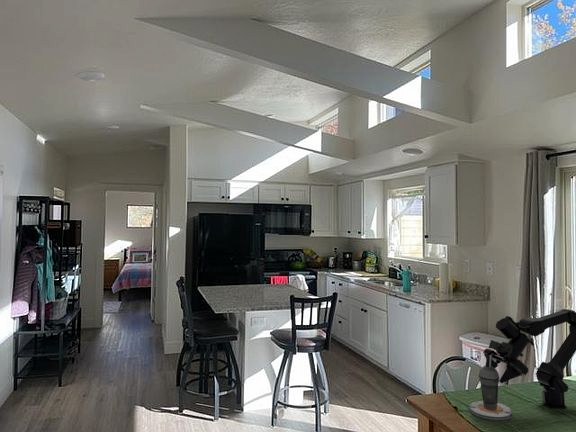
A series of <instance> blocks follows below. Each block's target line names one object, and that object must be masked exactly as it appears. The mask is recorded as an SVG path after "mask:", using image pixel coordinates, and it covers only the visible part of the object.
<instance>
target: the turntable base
mask: <svg viewBox="0 0 576 432" xmlns="http://www.w3.org/2000/svg"><path fill="white" fill-rule="evenodd" d="M468 411H469V413H470V414H471V415H472V416H474V417H476V418H479V419H481V418H482V420H485V419H487V420H486V421H490V420H492V421H491V422H506V421H509V420H511V419H513V417H514V414H513V411H512V410H511V415H510V416H508V417H505V418H490V417H485V416H481V415H479V414H476V413H474V412H473V411H472V410H471V409H470V405H469V406H468Z"/></svg>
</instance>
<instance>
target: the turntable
mask: <svg viewBox="0 0 576 432" xmlns="http://www.w3.org/2000/svg"><path fill="white" fill-rule="evenodd" d="M469 406H470V409H471V410H472V411H473V412H474V413H476V414H479V415H481V416H485V417H490V418H505V417H508V416H510V415H511V411H512V410H511V408H510V407H509V406H507V405H505V404H502V403H499V402H497V409H496V410H488V409H485V408H484V404H483V400H478V401H473V402H471V403H470V404H469Z"/></svg>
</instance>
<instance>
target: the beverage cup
mask: <svg viewBox="0 0 576 432" xmlns="http://www.w3.org/2000/svg"><path fill="white" fill-rule="evenodd" d="M478 379H479V382H480V390H481V398H482V401H483V404H484V408H485V409H488V410H496V409H497V403H498V401H499V400H498V398H499V383H500V382H499V381H500V379H501V377H500V375H499V372H498V370H497V368H494V367H492V366H491V355H490V362H489V366H488V365H487V366H485V365H483V366H482V367H481V368H480V369H479V371H478Z"/></svg>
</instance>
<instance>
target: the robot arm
mask: <svg viewBox="0 0 576 432" xmlns="http://www.w3.org/2000/svg"><path fill="white" fill-rule="evenodd" d="M564 323H567V324H569V326H568V330H569V333H568V334H567V336H566V338H565V339H564V341H563V342H562V344H561V345H560V347H559V348H557V349H558V350H557V351H556V352H555V354H554V355H553V357H552V358H551V360H550V361H548V362H546V361H542V362H540V364H539V366H538V367H537V368H536V370H537V371H536V372H535V376H536V380H537V381H538V383H539V386H540V387H543V390H542V391H541V394H542V403H544V405H545V406H546V407H548V408H557V409H558V408H559V409H568V408H567V407H568V406H567V405H566V402H565V393H567V392H568V389H569V386H568V384H567V383H566V382H565V381H564V378H565V373H564V369H565V368H566V366H567V365H568V363H569V362H570V361H571V359H572V358H573V356H574V355H575V353H576V310H571V309H567V308H563V309H561V310H559V311H556V312H555V311H554V312H552V313H549V314H546V315H544V316H540V317H526V318H521V319H520V320H519V321H516V322H515V320H514V319H513V318H512V316H508V315H506V316H505V317H502V318H501V319H499V320H498V321H496V323H495V328H496V329H497V331H499V332H500V334H502V335H503V337H505V339H509V340H508V341H507V342H505V341H502V342H499V341H495V340H492V339H490V342H489V345H488V348H485V349H484V350H483V351H482V354H483V355H484V357H485V360H486V361H485V365H484V366H487V365H488V366H489V362H490V355H491V366H492V367H494V368H495V369H497V367H499V364H501V363H503V364H505V365H506V369H505V371H504V373H503V374H502V375H501V377H500V379H499V383H500V384H504V383H506V382H508V381H510V380H513V379H515V378H518V377H523V376H525V377H526V375H528V373H529V367H528V366H527V365H526V364H525V363H524V362H523V361H522V360H521V359H519V357H521V358H523V356H524V354H523V352H524V350H525V349H526V348H527V346H528V345H529V346H532V347H534V346H535V343H534V339H533V338H532V337H530V336H533V337H539V336H540V335H542V334H543V333H544V332H545V331H546V330H548V329H550V328H553V327H555V326H559V325H561V324H564ZM528 335H529V336H528Z"/></svg>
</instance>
